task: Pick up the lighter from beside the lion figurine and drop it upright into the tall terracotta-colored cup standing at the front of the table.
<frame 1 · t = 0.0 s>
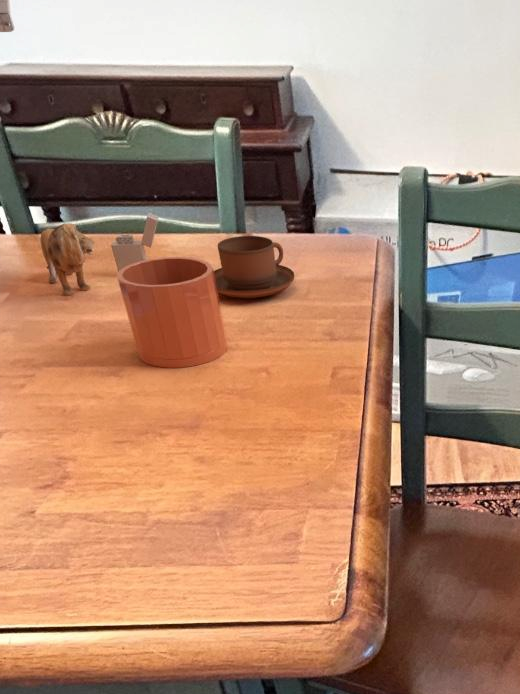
cup and saucer: (253, 291, 103), on the table
lighter: (145, 275, 108), on the table
terracotta-colored cup: (183, 349, 88), on the table
lion figurine: (74, 287, 104), on the table
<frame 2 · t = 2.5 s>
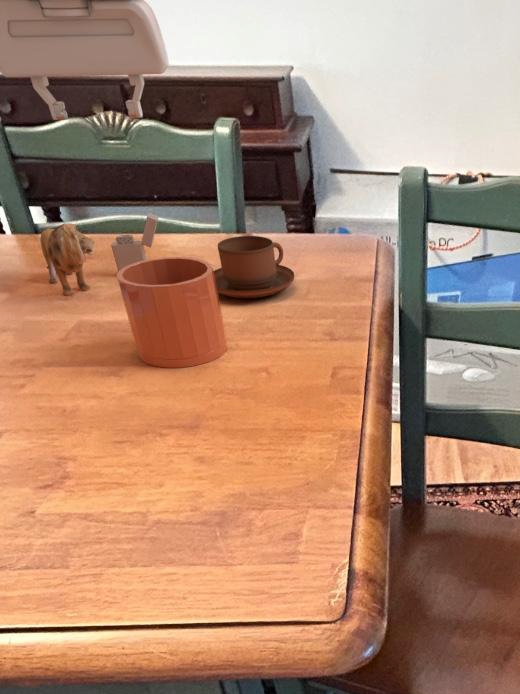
hand: (98, 118, 95), 19 cm above the table, tool pointing down, fingers open, 8 cm apart
nothing on the table moved.
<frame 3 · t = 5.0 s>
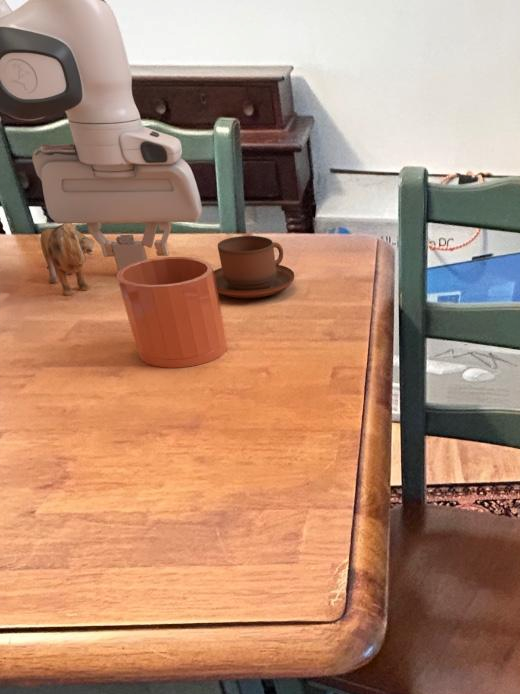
hand: (137, 255, 106), 3 cm above the table, tool pointing down, fingers closed on lighter, 6 cm apart
lighter: (145, 275, 108), on the table, touching gripper
everything else where it was.
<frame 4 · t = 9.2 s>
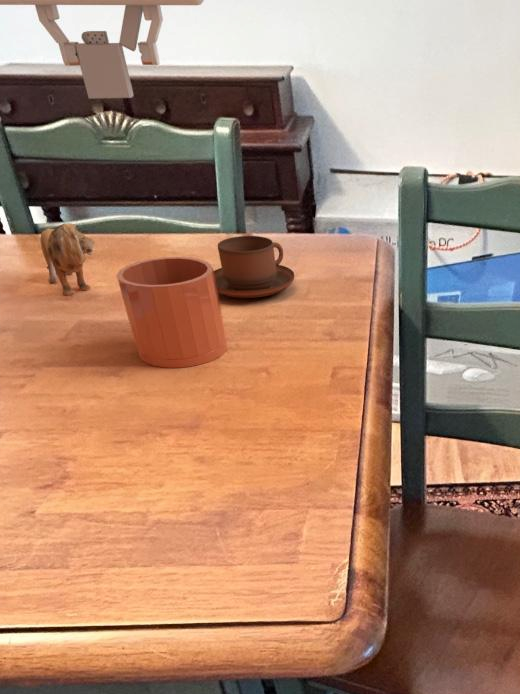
hand: (113, 65, 73), 27 cm above the table, tool pointing down, fingers closed on lighter, 6 cm apart
lighter: (127, 98, 74), point 24 cm above the table, touching gripper
everything else where it was.
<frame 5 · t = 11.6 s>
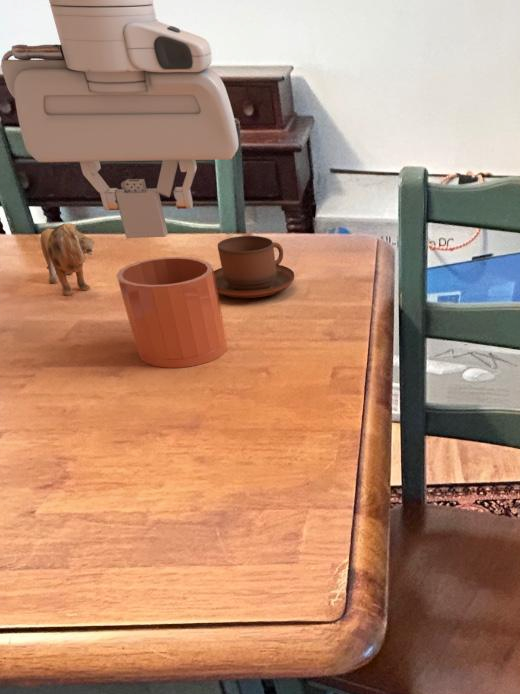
hand: (150, 208, 78), 15 cm above the table, tool pointing down, fingers closed on lighter, 6 cm apart
lighter: (162, 236, 79), point 13 cm above the table, touching gripper
everything else where it was.
when the fingers open (11 cm above the table, at t = 13.4 s): lighter drops 4 cm, resting on terracotta-colored cup.
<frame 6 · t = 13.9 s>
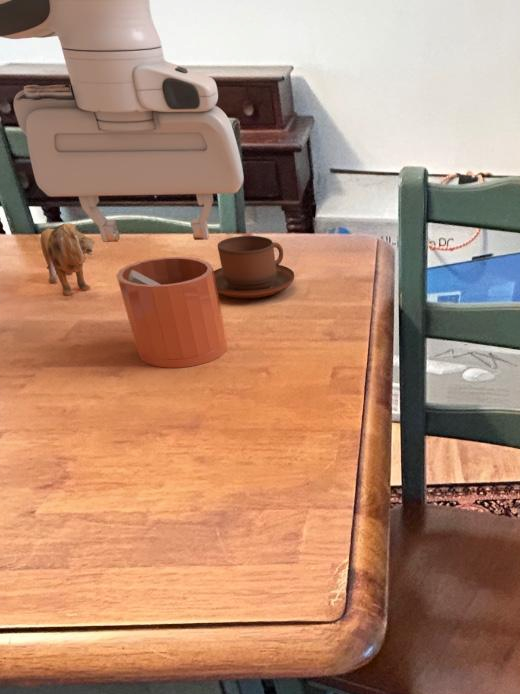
hand: (157, 239, 80), 12 cm above the table, tool pointing down, fingers open, 8 cm apart
lighter: (205, 309, 85), point 5 cm above the table, touching terracotta-colored cup
everything else where it was.
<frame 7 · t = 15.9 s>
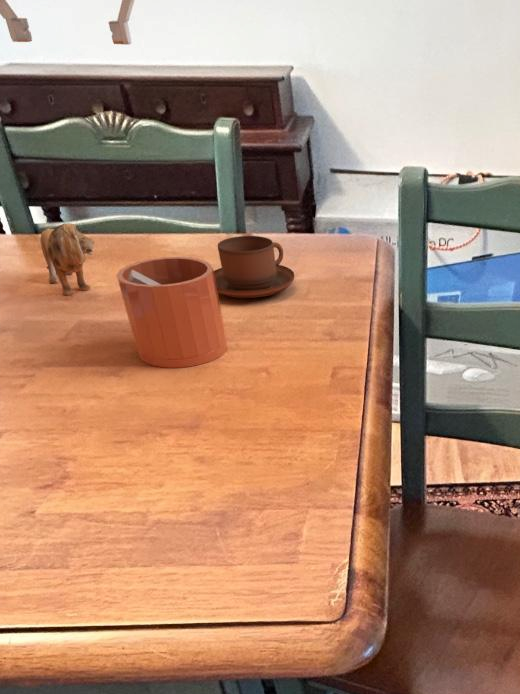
hand: (73, 42, 73), 29 cm above the table, tool pointing down, fingers open, 8 cm apart
nothing on the table moved.
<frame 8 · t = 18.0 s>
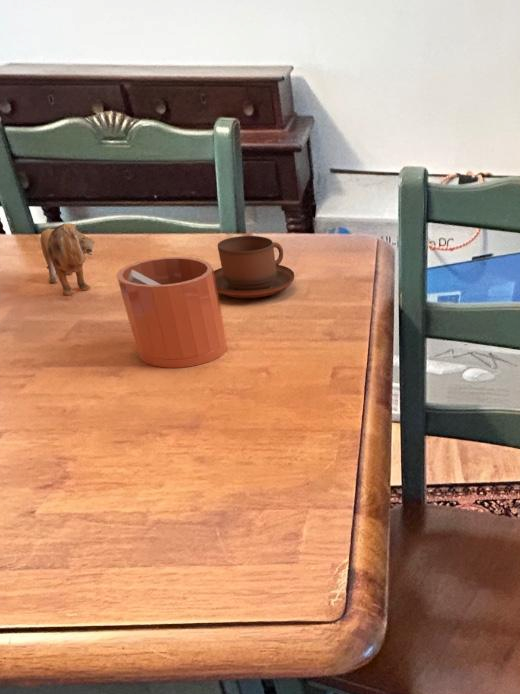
nothing on the table moved.
at the end: lighter inside the target area in the terracotta-colored cup (3.4 cm from its centre), point 4.5 cm above the terracotta-colored cup's base; the gripper is holding nothing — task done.
